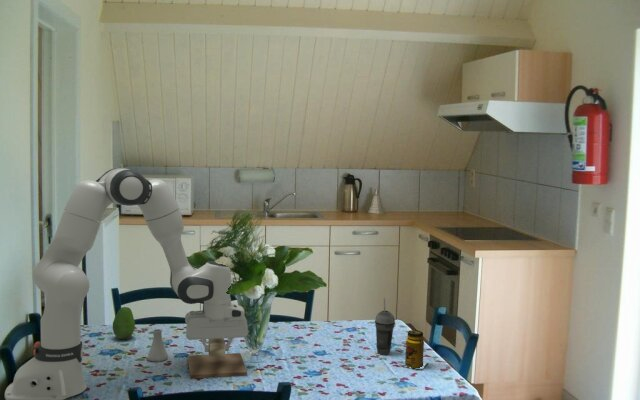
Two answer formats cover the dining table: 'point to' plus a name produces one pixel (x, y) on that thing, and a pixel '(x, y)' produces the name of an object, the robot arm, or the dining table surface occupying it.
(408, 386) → the dining table surface
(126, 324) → the avocado
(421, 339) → the condiment
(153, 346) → the flask
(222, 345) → the birch cube
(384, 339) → the beverage cup
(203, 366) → the walnut board
